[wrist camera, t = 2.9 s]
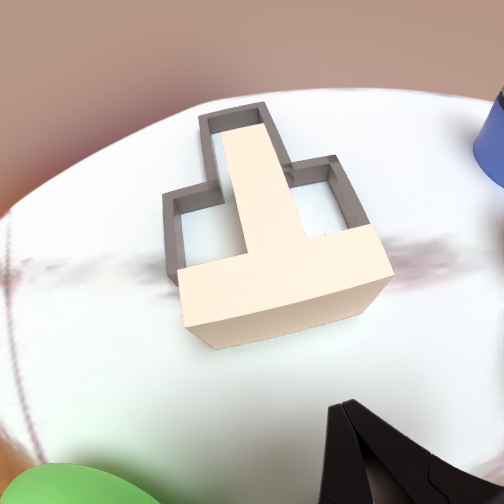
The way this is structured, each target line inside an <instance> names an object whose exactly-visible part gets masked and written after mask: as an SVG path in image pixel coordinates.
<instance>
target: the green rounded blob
mask: <svg viewBox="0 0 504 504" xmlns="http://www.w3.org/2000/svg"><path fill="white" fill-rule="evenodd" d="M0 504H161V503H160V502H158V501H157V500H156V499H154V498H153V497H152V496H150V495H149V494H148V493H146V492H145V491H143V490H142V489H140V488H138V487H137V486H135V485H133V484H131V483H130V482H128V481H126V480H124V479H122V478H120V477H117V476H115V475H113V474H110V473H108V472H105V471H102V470H99V469H95V468H92V467H88V466H83V465H78V464H70V463H50V464H43V465H39V466H36V467H33V468H30V469H28V470H26V471H24V472H23V473H21V474H20V475H19V476H17V477H16V478H15V479H14V480H13V481H12V482H11V483H10V484H9V485H8V487H7V488H6V490H5V491H4V493H3V495H2V497H1V499H0Z"/></svg>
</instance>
